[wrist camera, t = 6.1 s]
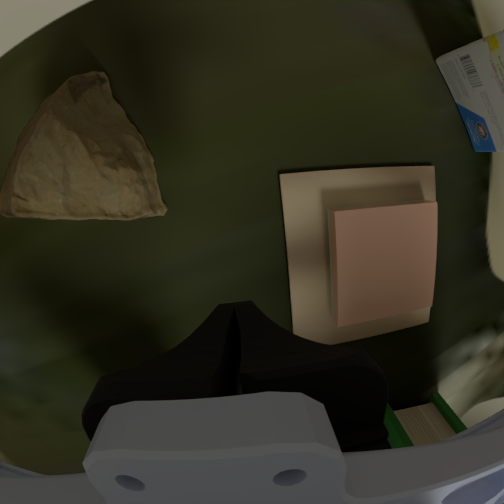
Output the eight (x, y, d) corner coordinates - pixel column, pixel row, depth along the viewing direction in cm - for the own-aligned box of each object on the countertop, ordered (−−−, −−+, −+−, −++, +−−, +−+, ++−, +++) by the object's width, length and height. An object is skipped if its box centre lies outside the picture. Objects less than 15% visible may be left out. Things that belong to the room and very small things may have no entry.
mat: (426, 320, 24) (428, 322, 23) (294, 349, 23) (294, 351, 23) (432, 165, 20) (434, 165, 20) (279, 174, 20) (279, 174, 20)
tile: (331, 316, 22) (421, 298, 23) (338, 327, 21) (431, 306, 21) (326, 208, 20) (424, 199, 21) (334, 211, 19) (437, 202, 19)
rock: (36, 66, 14) (5, 208, 16) (52, 5, 8) (-7, 221, 9) (166, 96, 22) (143, 220, 23) (233, 65, 16) (204, 236, 17)
